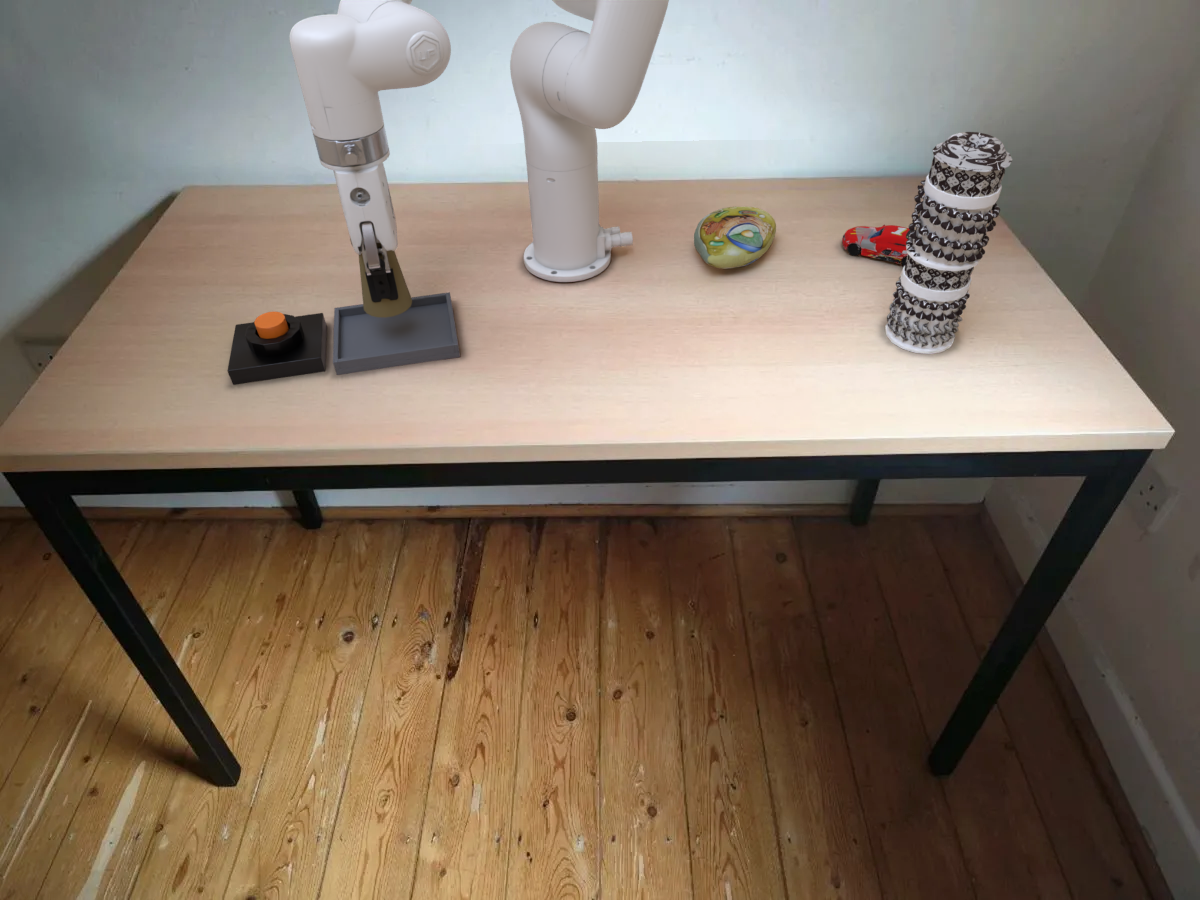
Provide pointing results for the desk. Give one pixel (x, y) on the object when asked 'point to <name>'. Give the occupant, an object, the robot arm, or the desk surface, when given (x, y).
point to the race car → (878, 242)
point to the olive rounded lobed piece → (386, 306)
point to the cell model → (734, 236)
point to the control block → (279, 350)
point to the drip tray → (394, 335)
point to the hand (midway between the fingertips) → (384, 288)
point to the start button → (271, 325)
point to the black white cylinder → (946, 241)
